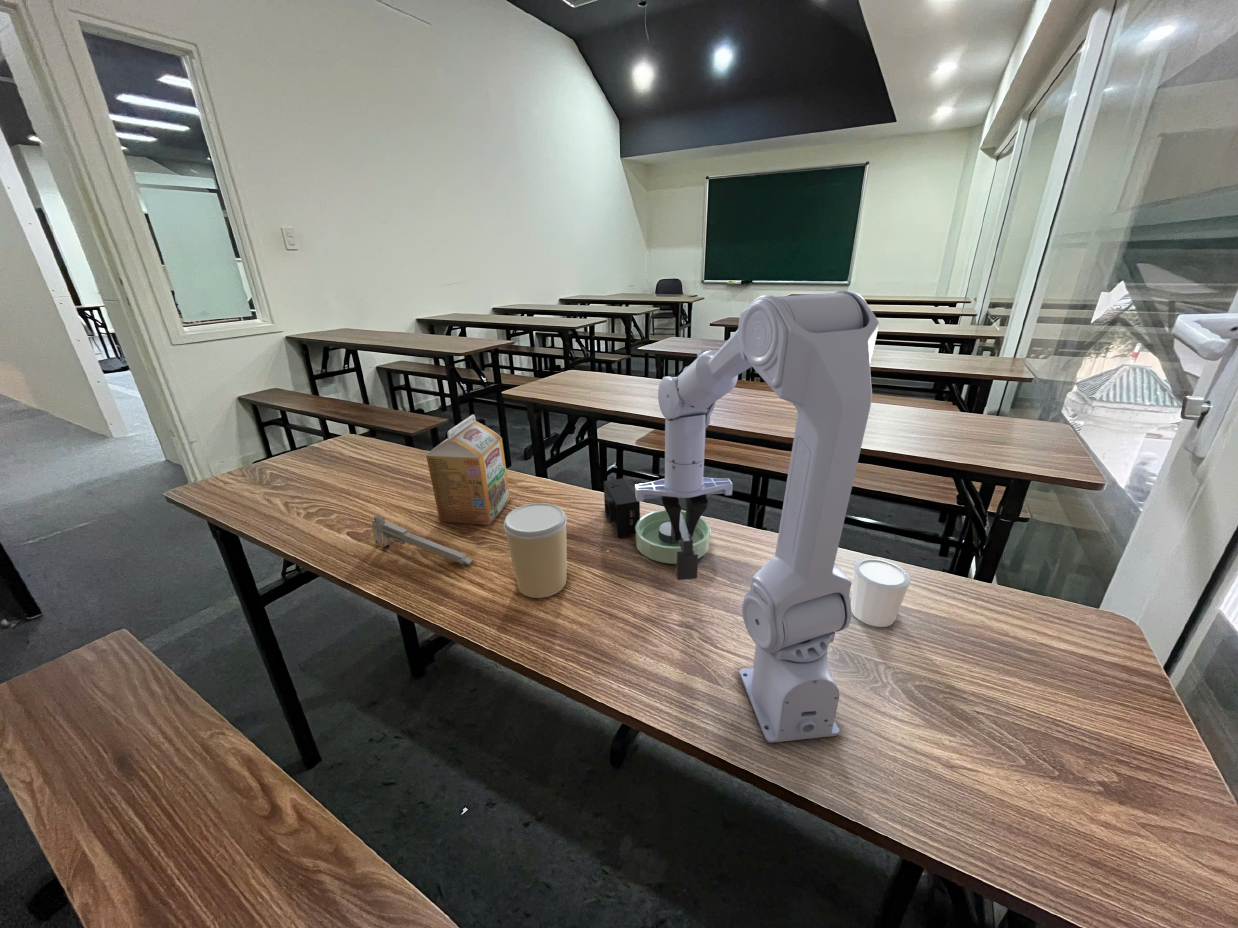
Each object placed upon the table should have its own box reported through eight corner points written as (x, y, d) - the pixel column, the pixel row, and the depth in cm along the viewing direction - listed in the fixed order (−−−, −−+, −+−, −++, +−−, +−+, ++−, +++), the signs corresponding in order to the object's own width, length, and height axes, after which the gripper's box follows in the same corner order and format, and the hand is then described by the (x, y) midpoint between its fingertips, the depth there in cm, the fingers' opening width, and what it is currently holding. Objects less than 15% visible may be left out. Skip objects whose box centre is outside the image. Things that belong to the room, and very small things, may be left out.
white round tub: (907, 633, 64) (918, 590, 61) (851, 627, 65) (860, 585, 62) (891, 599, 70) (900, 559, 67) (840, 594, 71) (848, 555, 68)
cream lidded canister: (580, 569, 79) (575, 505, 74) (558, 606, 71) (551, 536, 66) (528, 561, 81) (520, 499, 77) (501, 596, 73) (491, 528, 68)
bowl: (718, 562, 80) (719, 545, 78) (640, 568, 79) (640, 551, 77) (699, 523, 91) (700, 507, 90) (631, 528, 90) (631, 511, 89)
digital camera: (598, 512, 96) (597, 481, 94) (624, 508, 98) (624, 477, 95) (611, 539, 87) (610, 505, 84) (640, 534, 88) (639, 500, 86)
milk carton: (489, 524, 93) (474, 432, 86) (439, 521, 95) (421, 430, 87) (510, 499, 103) (498, 414, 95) (464, 496, 104) (449, 413, 97)
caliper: (376, 545, 87) (367, 515, 85) (380, 542, 88) (372, 512, 86) (468, 565, 81) (462, 533, 78) (472, 562, 82) (466, 530, 79)
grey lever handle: (702, 578, 74) (704, 540, 71) (672, 580, 73) (672, 542, 71) (682, 528, 87) (683, 495, 84) (656, 530, 87) (656, 497, 84)
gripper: (724, 444, 74) (720, 520, 80) (632, 450, 73) (633, 526, 79) (739, 462, 68) (733, 543, 73) (638, 468, 67) (639, 550, 72)
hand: (682, 536), depth 76 cm, fingers closed on grey lever handle
